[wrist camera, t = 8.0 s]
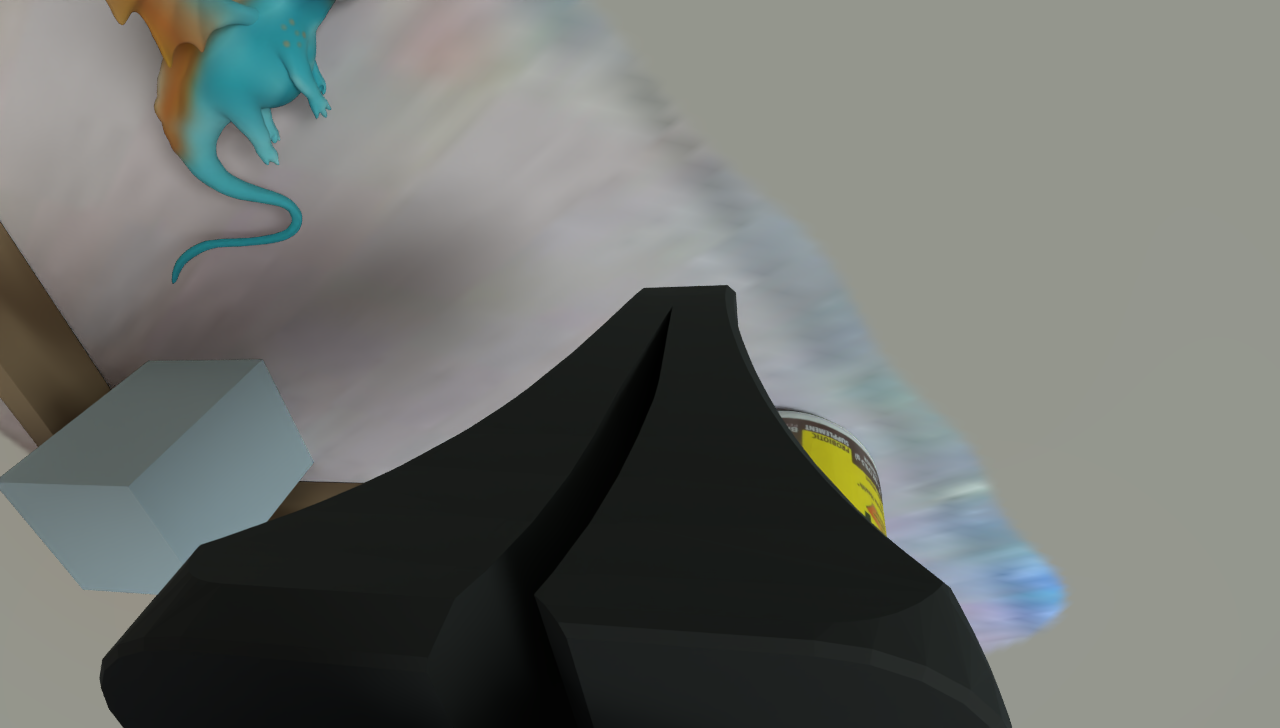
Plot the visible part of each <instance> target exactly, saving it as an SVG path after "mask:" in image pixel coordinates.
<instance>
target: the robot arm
mask: <svg viewBox="0 0 1280 728" xmlns="http://www.w3.org/2000/svg"><path fill="white" fill-rule="evenodd" d="M100 684H101V689H102V692H103V694H104V697H105V700H106V703H107V705H108V708H109V710H110V711H111V712H112V713H113V715H114V716H115V717H116V719H117V720H118V721H119V722H120V724H121V725H122V726H123V728H1012V725H1011V722H1010V718H1009V716H1008V713H1007V710H1006V707H1005V705H1004V702H1003V699H1002V696H1001V694H1000V691H999V688H998V686H997V684H996V681H995V679H994V676H993V673H992V671H991V668H990V666H989V664H988V661H987V659H986V657H985V655H984V653H983V651H982V648H981V646H980V644H979V642H978V640H977V638H976V636H975V633H974V632H973V630H972V628H971V626H970V624H969V622H968V620H967V618H966V616H965V614H964V612H963V610H962V608H961V606H960V605H959V603H958V601H957V599H956V597H955V595H954V594H953V592H952V590H951V588H950V587H949V586H947V585H946V584H945V583H944V582H943V581H941V580H940V579H939V578H937V577H936V576H935V575H934V574H932V573H931V572H930V571H929V570H927V569H926V568H925V567H923V566H922V565H921V564H920V563H918V562H917V561H916V560H915V559H913V558H912V557H911V556H909V555H908V554H907V553H906V552H904V551H903V550H902V549H901V548H899V547H898V546H897V545H896V544H895V543H893V542H892V541H891V540H890V539H889V538H888V537H886V536H885V535H884V534H883V533H882V532H881V531H880V530H879V529H878V528H877V527H876V526H875V525H874V524H873V523H872V522H871V521H869V520H868V519H867V518H866V517H865V516H864V515H863V514H862V513H861V512H860V511H859V510H858V509H857V508H856V507H855V506H854V505H853V504H852V503H851V502H850V501H849V500H848V499H847V498H846V496H845V495H844V494H843V493H842V492H841V491H840V490H839V489H838V488H837V487H836V486H835V484H834V483H833V482H832V481H831V480H830V479H829V478H828V477H827V476H826V475H825V474H824V472H823V471H822V470H821V469H820V468H819V467H818V466H817V465H816V464H815V462H814V461H813V460H812V459H811V457H810V456H809V455H808V453H807V452H806V451H805V450H804V448H803V447H802V446H801V444H800V443H799V442H798V440H797V439H796V438H795V436H794V435H793V433H792V432H791V431H790V429H789V428H788V426H787V425H786V423H785V422H784V420H783V419H782V417H781V416H780V414H779V413H778V411H777V409H776V408H775V406H774V405H773V403H772V401H771V399H770V398H769V396H768V394H767V392H766V390H765V389H764V387H763V385H762V383H761V381H760V379H759V377H758V375H757V373H756V371H755V369H754V367H753V365H752V362H751V360H750V358H749V355H748V353H747V350H746V348H745V345H744V343H743V340H742V337H741V334H740V331H739V328H738V318H737V303H736V292H735V291H734V290H732V289H731V288H730V287H729V286H728V285H718V286H689V287H659V288H643V289H642V290H641V291H639V292H638V293H637V294H636V295H635V296H634V297H633V298H631V299H630V300H629V301H628V302H627V303H626V304H625V305H624V306H623V307H622V308H621V309H620V310H619V311H618V312H616V313H615V314H614V315H613V316H612V317H611V318H610V319H609V320H608V321H607V322H606V323H605V324H604V325H603V326H601V327H600V328H599V329H598V330H597V331H596V332H595V333H594V334H593V335H592V336H590V337H589V338H588V339H587V340H586V341H585V342H584V343H583V344H582V345H580V346H579V347H578V348H577V349H576V350H575V351H574V352H573V353H571V354H570V355H569V356H568V357H566V358H565V359H564V360H563V361H561V362H560V363H559V364H558V365H557V366H555V367H554V368H553V369H552V370H550V371H549V372H548V373H547V374H545V375H544V376H543V377H542V378H540V379H539V380H538V381H537V382H535V383H534V384H533V385H532V386H530V387H529V388H528V389H527V390H525V391H524V392H522V393H521V394H520V395H518V396H517V397H516V398H514V399H513V400H511V401H510V402H508V403H507V404H506V405H504V406H503V407H501V408H500V409H498V410H497V411H495V412H494V413H492V414H490V415H489V416H487V417H486V418H484V419H483V420H481V421H480V422H478V423H477V424H475V425H473V426H472V427H470V428H469V429H467V430H465V431H464V432H462V433H460V434H458V435H457V436H455V437H453V438H451V439H449V440H447V441H445V442H444V443H442V444H440V445H438V446H436V447H434V448H433V449H431V450H429V451H427V452H425V453H423V454H422V455H420V456H418V457H416V458H414V459H412V460H411V461H409V462H407V463H405V464H403V465H401V466H399V467H397V468H395V469H393V470H391V471H389V472H387V473H385V474H382V475H380V476H378V477H376V478H374V479H372V480H370V481H367V482H365V483H363V484H361V485H359V486H356V487H354V488H352V489H349V490H347V491H345V492H342V493H340V494H338V495H335V496H333V497H331V498H328V499H326V500H324V501H321V502H319V503H316V504H314V505H311V506H308V507H306V508H303V509H301V510H298V511H296V512H293V513H290V514H287V515H284V516H282V517H279V518H276V519H273V520H270V521H268V522H265V523H262V524H259V525H256V526H254V527H251V528H248V529H245V530H242V531H240V532H237V533H234V534H231V535H228V536H226V537H223V538H220V539H217V540H213V541H210V542H207V543H204V544H201V545H200V546H198V548H197V549H196V550H195V551H194V552H193V554H192V555H191V556H190V557H189V558H188V559H187V561H186V562H185V563H184V564H183V565H182V566H181V568H180V569H179V570H178V571H177V572H176V573H175V575H174V576H173V577H172V578H171V579H170V580H169V582H168V583H167V584H166V585H165V586H164V588H163V589H162V590H161V591H160V592H159V593H158V595H157V596H156V597H155V598H154V599H153V600H152V602H151V603H150V604H149V605H148V606H147V607H146V609H145V610H144V611H143V612H142V613H141V614H140V616H139V617H138V618H137V619H136V620H135V622H134V623H133V624H132V625H131V626H130V627H129V629H128V630H127V631H126V632H125V633H124V635H123V636H122V637H121V638H120V639H119V640H118V642H117V643H116V644H115V645H114V646H113V647H112V648H111V650H110V651H109V652H108V653H107V654H106V656H105V657H104V658H103V660H102V665H101V672H100Z"/></svg>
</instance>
